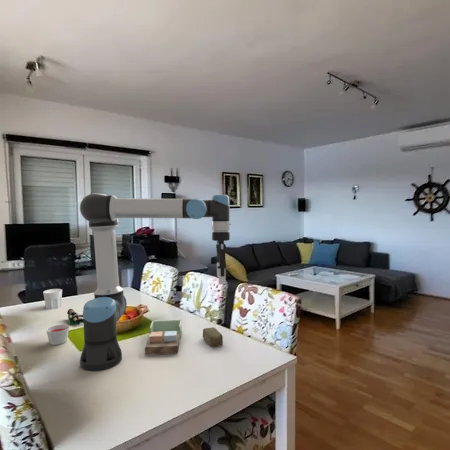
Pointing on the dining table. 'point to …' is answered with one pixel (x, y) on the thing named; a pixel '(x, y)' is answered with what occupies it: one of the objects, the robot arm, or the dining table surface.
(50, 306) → the cup
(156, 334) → the tile terracotta
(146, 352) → the board
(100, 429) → the dining table surface
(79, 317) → the figurine
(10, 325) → the dining table surface
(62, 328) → the candle
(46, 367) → the dining table surface
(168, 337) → the pale blue square block
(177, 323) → the tray
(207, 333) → the stone block
